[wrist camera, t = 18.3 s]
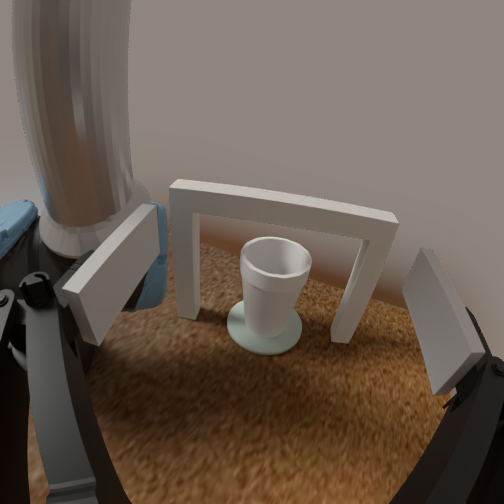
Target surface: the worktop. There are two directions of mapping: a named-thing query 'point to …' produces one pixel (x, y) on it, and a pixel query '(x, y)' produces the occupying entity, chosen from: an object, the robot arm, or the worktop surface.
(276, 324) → the foam cup
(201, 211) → the keeper arch
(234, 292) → the worktop surface
